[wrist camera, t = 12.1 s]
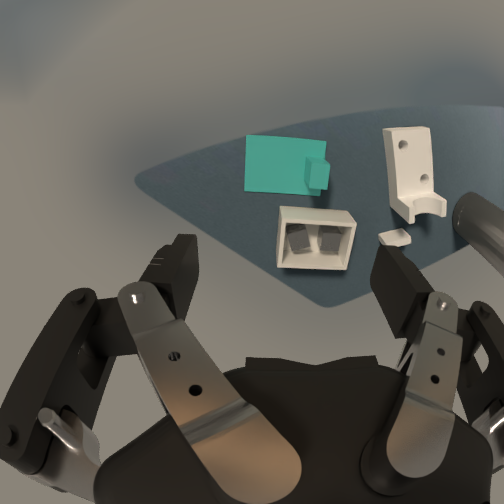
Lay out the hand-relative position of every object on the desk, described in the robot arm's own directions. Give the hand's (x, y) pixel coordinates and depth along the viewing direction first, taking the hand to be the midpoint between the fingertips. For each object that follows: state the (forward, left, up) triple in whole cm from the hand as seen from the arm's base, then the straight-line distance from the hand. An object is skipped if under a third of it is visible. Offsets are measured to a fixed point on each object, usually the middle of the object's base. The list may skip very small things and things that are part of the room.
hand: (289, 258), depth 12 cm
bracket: (-22, 0, -31) cm, 38 cm away
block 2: (-10, +13, -30) cm, 34 cm away
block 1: (-5, +13, -30) cm, 32 cm away
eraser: (-22, +12, -30) cm, 39 cm away
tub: (-8, +13, -30) cm, 33 cm away
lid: (-2, +2, -30) cm, 31 cm away
